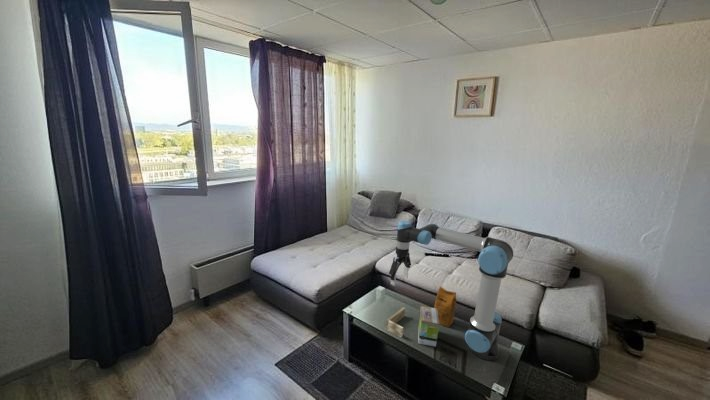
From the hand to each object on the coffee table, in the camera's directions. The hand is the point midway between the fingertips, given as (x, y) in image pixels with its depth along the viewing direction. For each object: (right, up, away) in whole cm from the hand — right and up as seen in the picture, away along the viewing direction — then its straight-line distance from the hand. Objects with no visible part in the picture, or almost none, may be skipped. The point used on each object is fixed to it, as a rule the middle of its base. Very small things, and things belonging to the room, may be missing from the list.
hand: (399, 280), depth 171 cm
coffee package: (+29, -28, +10) cm, 41 cm away
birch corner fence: (+2, -28, +2) cm, 28 cm away
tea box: (+15, -31, -6) cm, 35 cm away
